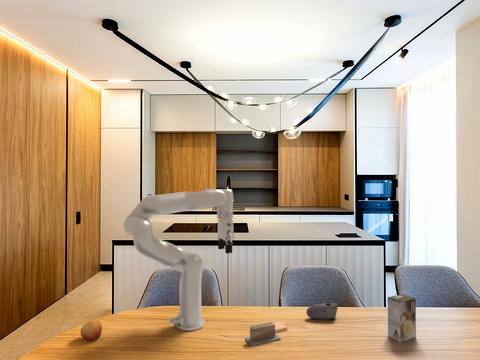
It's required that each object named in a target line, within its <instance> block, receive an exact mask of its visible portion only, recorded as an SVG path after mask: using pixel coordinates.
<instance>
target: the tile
mask: <svg viewBox="0 0 480 360" xmlns="http://www.w3.org/2000/svg"><path fill="white" fill-rule="evenodd" d="M273 323H274V324H275V334H276V333H280V332H284V331H285V332H286V331H288V326H287V325H286V324H284V323H283V322H282V321H276V322H273Z"/></svg>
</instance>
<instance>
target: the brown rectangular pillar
mask: <svg viewBox="0 0 480 360" xmlns="http://www.w3.org/2000/svg"><path fill="white" fill-rule="evenodd" d="M274 323H275V322H272V321H271V322H267V323H266V322H265V323H262V324H256V325H251V326H249V337H250V339H251V340H252V342H255V341H259V340H264V339H268V338H273V337H275V334H276V333H275V324H274Z"/></svg>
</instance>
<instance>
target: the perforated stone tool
mask: <svg viewBox="0 0 480 360" xmlns="http://www.w3.org/2000/svg"><path fill="white" fill-rule="evenodd" d="M337 312H338V304H337V303H336V302H328V303H327V302H324V303H318V304H313V305H312V306H309V307H308V308H307V309H306V315H307V317H308V318H310V319H313V320H330V319H336V316H337Z"/></svg>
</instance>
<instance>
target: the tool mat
mask: <svg viewBox="0 0 480 360" xmlns="http://www.w3.org/2000/svg"><path fill="white" fill-rule="evenodd" d="M244 340H245V341H246V343H248V344H249V346H251V347H256V346H260V345H264V344H267V343H271V342H272V343H273V342H277V341H281V337H280V336H279V335H278V334H276V333H275V337H273V338H268V339H264V340H259V341H255V342H252V340H251V339H250V336H248V337H245V338H244Z"/></svg>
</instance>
